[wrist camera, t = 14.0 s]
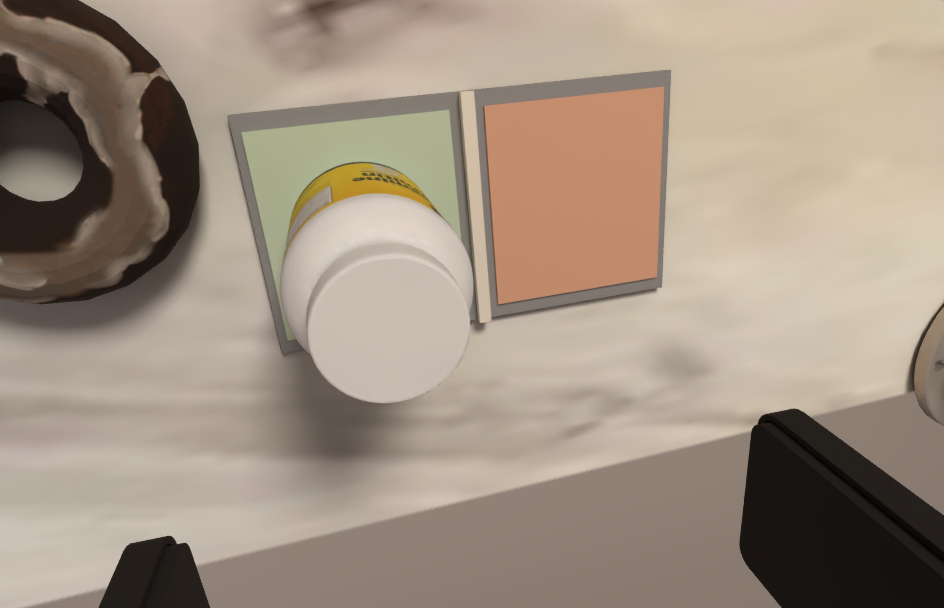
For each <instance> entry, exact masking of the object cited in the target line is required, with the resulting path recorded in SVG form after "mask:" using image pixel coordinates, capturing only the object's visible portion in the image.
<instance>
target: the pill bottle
mask: <svg viewBox="0 0 944 608" xmlns="http://www.w3.org/2000/svg"><path fill="white" fill-rule="evenodd" d="M280 298H281V304H282V309H283V313H284V316H285V319H286V321H287V324H288V326H289V328H290V330H291V331H292V333H293V335H294V336H295V338H296V339H297V341H298V342H299V343H300V345H301V346H302V347H303V348H304V349H305V350H306V351H307V352H308V353H309V354H310V355H311V357H312V359H313V361H314V363H315V365H316V367H317V369H318V370H319V372H320V373H321V374H322V376H323V377H324V378H325V379H326V380H327V381H328V382H329V383H330V384H331V385H333V386H334V387H335V388H337V389H338V390H339V391H341V392H342V393H344V394H346V395H348V396H351V397H353V398H355V399H359V400H361V401H366V402H372V403H383V404H385V403H396V402H403V401H406V400H410V399H413V398H416V397H418V396H421V395H423V394H424V393H427V392H429V391H431V390H432V389H434V388H435V387H437V386H438V385H440V384H441V383H442V382H443V381H444V380H445V379H446V378H447V377H448V376H449V375H450V374H451V373H452V372H453V371H454V369H455V368H456V367H457V366H458V364H459V362H460V361H461V359H462V357H463V355H464V352H465V350H466V347H467V343H468V340H469V334H470V314H469V312H470V308H471V304H472V299H473V273H472V267H471V263H470V259H469V257H468V254H467V251H466V249H465V247H464V245H463V243H462V241H461V240H460V238H459V237H458V235H457V234H456V232H455V231H454V230H453V228H452V227H451V226H450V224H449V223H448V222H447V221H446V220H445V219H444V218H443V217H442V215H441V214H440V213H439V212H438V210H437V209H436V208H435V207H434V205H433V204H432V203H431V202H430V201H429V199H428V198H427V197H426V195H425V194H424V193H423V192H422V190H421V189H420V188H419V187H418V186H417V185H416V184H415V183H414V182H413V181H412V180H411V179H410V178H408V177H407V176H405V175H404V174H403V173H401V172H399V171H398V170H396V169H393V168H391V167H389V166H386V165H382V164H379V163H374V162H351V163H345V164H341V165H338V166H335V167H333V168H331V169H329V170H327V171H325V172H323V173H322V174H320V175H319V176H317V177H316V178H315V179H314V180H313V181H312V182H310V183H309V184H308V185H307V187H306V188H305V189H304V190H303V192H302V193H301V195H300V196H299V198H298V200H297V202H296V204H295V206H294V209H293V211H292V215H291V219H290V224H289V230H288V236H287V242H286V247H285V253H284V257H283V263H282V269H281V277H280Z"/></svg>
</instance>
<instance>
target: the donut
mask: <svg viewBox="0 0 944 608" xmlns="http://www.w3.org/2000/svg"><path fill="white" fill-rule="evenodd" d="M6 100H21V101H25V102H29V103H34V104H37V105H39V106H41V107H43V108H45V109H47V110H49V111H51V112H53V113H54V114H55V115H56V116H58V117H59V118H60V119H61V120H63V121H64V122H65V123H66V125H67V126H68V127H69V129H70V130H71V131H72V133H73V134H74V135H75V137H76V139H77V141H78V144H79V146H80V148H81V151H82V153H83V164H84V168H83V172H82V177H81V180H80V182H79V183H78V184H77V186H76V187H75V189H74V190H73V191H72V192H71V193H70V194H68V195H67V196H66V197H64V198H61V199H58V200H55V201H42V202H37V201H32V200H27V199H24V198H22V197H20V196H18V195H15V194H13V193H11V192H9V191H8V190H7V189H5V188H4V187H3V186H1V185H0V298H1V299H8V300H15V301H22V302H29V303H36V304H48V303H60V302H71V301H83V300H89V299H91V298H94V297H97V296H100V295H103V294H105V293H108V292H111V291H114V290H117V289H119V288H122V287H125V286H128V285H129V284H131V283H133V282H134V281H136V280H137V279H138V278H140V277H141V276H142V275H144V274H145V273H147V272H148V271H149V270H151V269H152V268H153V267H155V266H156V265H157V264H159V263H160V262H162V261H163V260H164V259H165V258H166V257H167V256H168V254H169V253H170V251H171V250H172V249H173V247H174V246H175V244H176V243H177V242H178V240H179V239H180V237H181V236H182V235H183V233H184V232H185V230H186V229H187V228H188V225H189V222H190V219H191V215H192V212H193V209H194V205H195V202H196V199H197V195H198V192H199V188H200V181H199V145H198V141H197V138H196V135H195V132H194V129H193V126H192V123H191V120H190V117H189V114H188V111H187V108H186V105H185V102H184V100H183V99H182V97H181V96H180V94H179V92H178V91H177V89H176V88H175V86H174V85H173V83H172V82H171V80H170V79H169V77H168V76H167V74H166V73H165V71H164V70H163V68H162V66H161V65H160V63H159V62H158V60H157V59H156V58H155V57H153V56H152V55H151V54H150V53H149V52H148V51H147V50H146V49H145V48H144V47H143V46H142V45H141V44H139V43H138V42H137V41H136V40H135V39H134V38H133V37H132V36H131V35H130V34H129V33H128V32H127V31H125V30H124V29H123V28H122V27H121V26H120V25H119V24H118V23H117V22H116V21H114V20H112V19H111V18H109V17H107V16H105V15H104V14H102V13H100V12H98V11H97V10H95V9H93V8H91V7H90V6H88V5H86V4H84V3H83V2H81V1H79V0H0V102H3V101H6Z"/></svg>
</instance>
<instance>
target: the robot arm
mask: <svg viewBox="0 0 944 608" xmlns="http://www.w3.org/2000/svg"><path fill="white" fill-rule="evenodd" d="M914 387H915V394H916V398H917V400H918V403H919V405H920V407H921V408H922V410H923V411H924V412H925V414H926V415H927V416H929V417H930V418H932V419H933V420H934V421H936V422H938V423H940V424H941V425H943V426H944V307H943V308H942V309H941V311H940V312H939V313H938V315H937V316H936V318H935V319H934V321H933V323H932V324H931V326H930V328H929V329H928V331H927V333H926V335H925V337H924V340H923V342H922V344H921V347H920V349H919V353H918V356H917V360H916V364H915V373H914ZM740 551H741V554H742V557H743V559H744V561H745V563H746V565H747V566H748V567H749V569H750V570H751V571H752V572H753V573H754V574H755V576H756V577H757V578H758V580H759V581H760V582H761V583H762V584H763V586H764V587H765V588H766V589H767V590H768V592H769V593H770V594H771V595H772V596H773V598H774V599H775V600H776V601H777V602H778V604H779V605H780V606H781V607H782V608H944V515H942V514H941V513H940V512H938V511H937V510H935V509H934V508H933V507H931V506H930V505H929V504H927V503H926V502H925V501H923V500H922V499H920V498H919V497H918V496H916V495H915V494H914V493H912V492H911V491H910V490H908V489H907V488H906V487H904V486H903V485H901V484H900V483H899V482H898V481H896V480H895V479H894V478H892V477H891V476H889V475H888V474H887V473H885V472H884V471H883V470H881V469H880V468H879V467H877V466H876V465H875V464H873V463H872V462H870V461H869V460H868V459H866V458H865V457H864V456H862V455H861V454H859V453H858V452H857V451H856V450H854V449H853V448H851V447H850V446H849V445H847V444H846V443H845V442H843V441H842V440H841V439H839V438H838V437H837V436H835V435H834V434H832V433H831V432H830V431H828V430H827V429H826V428H824V427H823V426H821V425H820V424H819V423H818V422H816V421H814V420H813V419H812V418H811V417H809V416H808V415H807V414H805V413H804V412H802V411H800V410H799V409H789V410H784V411H779V412H774V413H769V414H765V415H763V416H761V418H760V419H759V422H758V425H755V426H754V427H753V429H752V432H751V441H750V450H749V460H748V469H747V478H746V488H745V496H744V506H743V515H742V525H741V534H740ZM99 608H210V606H209V603H208V600H207V597H206V594H205V591H204V588H203V585H202V583H201V579H200V577H199V573H198V570H197V568H196V565H195V562H194V559H193V556H192V553H191V550H190V548H189V545H188V544H187V543H181V544H177V543H176V541H175V539H174V538H173V537H172V536H165V537H160V538H155V539H150V540H146V541H141V542H136V543H131V544H129V545H128V546H126V548H125V550H124V551H123V553H122V556H121V558H120V560H119V562H118V565H117V567H116V569H115V572H114V574H113V576H112V578H111V581H110V583H109V585H108V587H107V590H106V592H105V594H104V597H103V599H102V601H101V603H100V606H99Z"/></svg>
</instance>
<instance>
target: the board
mask: <svg viewBox="0 0 944 608" xmlns="http://www.w3.org/2000/svg"><path fill="white" fill-rule="evenodd" d="M670 84H671V70H662V71H652V72H643V73H633V74H623V75H613V76H604V77H594V78H584V79H574V80H565V81H555V82H545V83H535V84H526V85H516V86H506V87H496V88H487V89H477V90H467V91H457V92H448V93H438V94H428V95H418V96H409V97H399V98H389V99H379V100H370V101H360V102H350V103H340V104H331V105H321V106H311V107H301V108H292V109H282V110H272V111H262V112H253V113H243V114H233V115H228V120H229V124H230V129H231V133H232V137H233V142H234V146H235V150H236V155H237V159H238V163H239V168H240V172H241V176H242V181H243V185H244V190H245V194H246V198H247V203H248V207H249V211H250V216H251V220H252V224H253V229H254V233H255V237H256V242H257V246H258V251H259V255H260V259H261V264H262V268H263V272H264V277H265V281H266V285H267V290H268V294H269V298H270V303H271V307H272V312H273V316H274V320H275V325H276V329H277V333H278V338H279V342H280V346H281V351H282V354H284V353H290V352H296V351H301V350H305V349H304V348H303V347H302V346H301V345H300V343H299V342H298V341H297V339H296V338H295V336H294V335H293V333H292V331H291V330H290V328H289V326H288V324H287V321H286V319H285V316H284V313H283V309H282V304H281V298H280V277H281V269H282V263H283V257H284V253H285V247H286V242H287V236H288V230H289V224H290V219H291V215H292V211H293V209H294V206H295V204H296V202H297V200H298V198H299V196H300V195H301V193H302V192H303V190H304V189H305V188H306V187H307V185H308V184H309V183H310V182H312V181H313V180H314V179H315V178H316V177H317V176H319V175H320V174H322V173H323V172H325V171H327V170H329V169H331V168H333V167H335V166H338V165H341V164H345V163H351V162H374V163H379V164H382V165H386V166H389V167H391V168H393V169H396V170H398V171H399V172H401V173H403V174H404V175H405V176H407V177H408V178H410V179H411V180H412V181H413V182H414V183H415V184H416V185H417V186H418V187H419V188H420V189H421V190H422V192H423V193H424V194H425V195H426V197H427V198H428V199H429V201H430V202H431V203H432V204H433V205H434V207H435V208H436V209H437V210H438V212H439V213H440V214H441V215H442V217H443V218H444V219H445V220H446V221H447V222H448V223H449V224H450V226H451V227H452V228H453V230H454V231H455V232H456V234H457V235H458V237H459V238H460V240H461V241H462V243H463V245H464V247H465V249H466V251H467V254H468V257H469V259H470V263H471V267H472V273H473V299H472V304H471V308H470V312H469V314H470V321H472V320H478V321H479V322H480V323H485V322H491V321H492V319H491V317H495V316H501V315H506V314H512V313H518V312H524V311H529V310H535V309H541V308H546V307H552V306H558V305H563V304H569V303H575V302H581V301H586V300H592V299H598V298H603V297H609V296H615V295H620V294H626V293H632V292H638V291H643V290H649V289H655V288H660V287H662V271H663V248H664V224H665V201H666V177H667V154H668V131H669V107H670Z"/></svg>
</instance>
